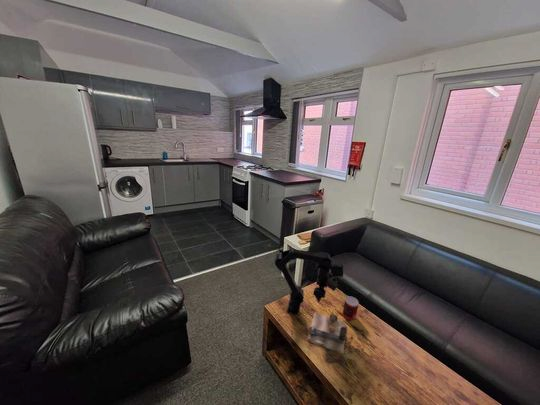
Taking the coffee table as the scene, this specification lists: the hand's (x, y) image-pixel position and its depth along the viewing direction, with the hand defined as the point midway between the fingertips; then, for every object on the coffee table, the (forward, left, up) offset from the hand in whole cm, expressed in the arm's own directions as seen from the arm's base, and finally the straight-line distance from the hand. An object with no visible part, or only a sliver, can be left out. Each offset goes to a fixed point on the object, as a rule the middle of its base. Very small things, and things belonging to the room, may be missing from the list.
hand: (319, 296), depth 128 cm
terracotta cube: (+9, -11, -10) cm, 18 cm away
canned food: (+18, +6, -12) cm, 23 cm away
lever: (+7, -16, -10) cm, 21 cm away
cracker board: (+7, -12, -12) cm, 18 cm away
